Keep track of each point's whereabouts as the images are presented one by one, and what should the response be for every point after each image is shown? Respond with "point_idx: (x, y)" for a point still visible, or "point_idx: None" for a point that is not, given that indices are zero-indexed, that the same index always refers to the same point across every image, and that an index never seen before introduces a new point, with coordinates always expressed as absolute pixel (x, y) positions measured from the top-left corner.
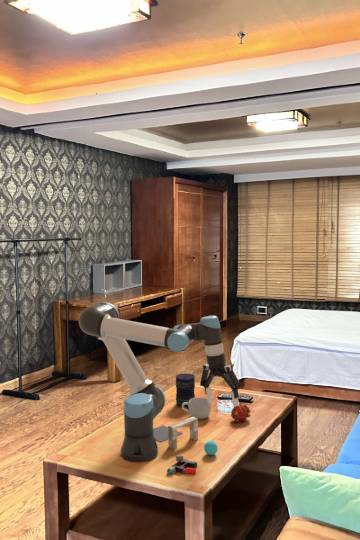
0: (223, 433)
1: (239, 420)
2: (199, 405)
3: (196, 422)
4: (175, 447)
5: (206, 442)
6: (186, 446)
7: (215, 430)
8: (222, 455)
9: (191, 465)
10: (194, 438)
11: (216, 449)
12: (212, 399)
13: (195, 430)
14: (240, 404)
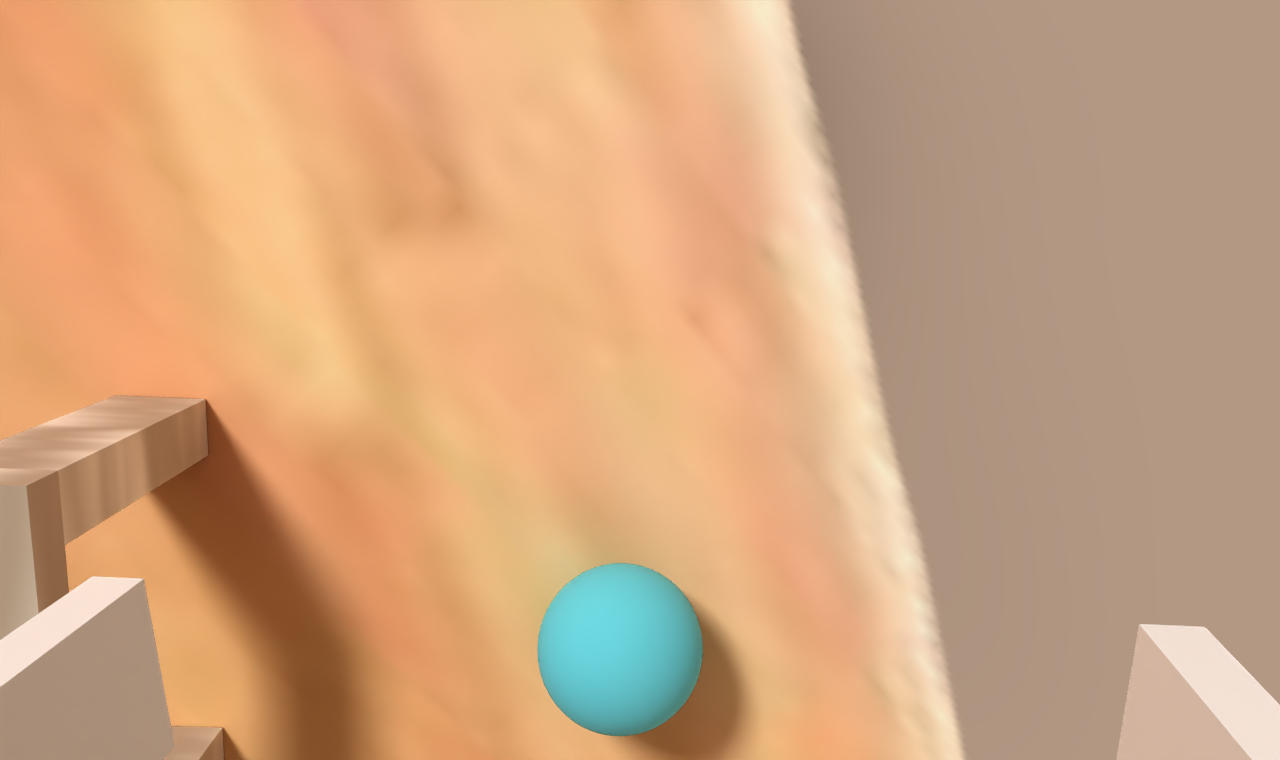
0: (308, 26)
1: None
2: None
3: (70, 495)
4: (219, 752)
5: (563, 697)
6: (271, 635)
7: (152, 18)
8: (727, 540)
9: None
10: (192, 460)
11: (701, 639)
12: (98, 645)
13: (141, 478)
14: None
